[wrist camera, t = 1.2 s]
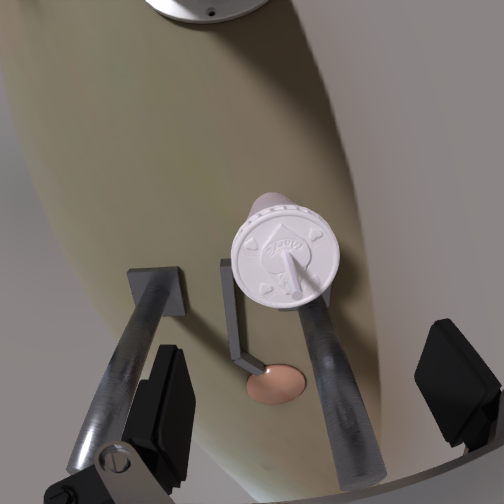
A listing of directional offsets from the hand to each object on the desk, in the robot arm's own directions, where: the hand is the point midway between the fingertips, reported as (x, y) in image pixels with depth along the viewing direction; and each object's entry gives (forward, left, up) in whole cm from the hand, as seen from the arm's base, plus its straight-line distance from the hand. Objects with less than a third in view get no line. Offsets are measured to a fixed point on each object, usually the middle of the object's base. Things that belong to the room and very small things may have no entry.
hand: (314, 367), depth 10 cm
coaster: (+21, 0, -18) cm, 27 cm away
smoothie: (0, 0, -18) cm, 18 cm away
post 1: (+7, -11, -18) cm, 22 cm away
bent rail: (+11, -3, -18) cm, 21 cm away
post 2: (+7, +3, -18) cm, 19 cm away
